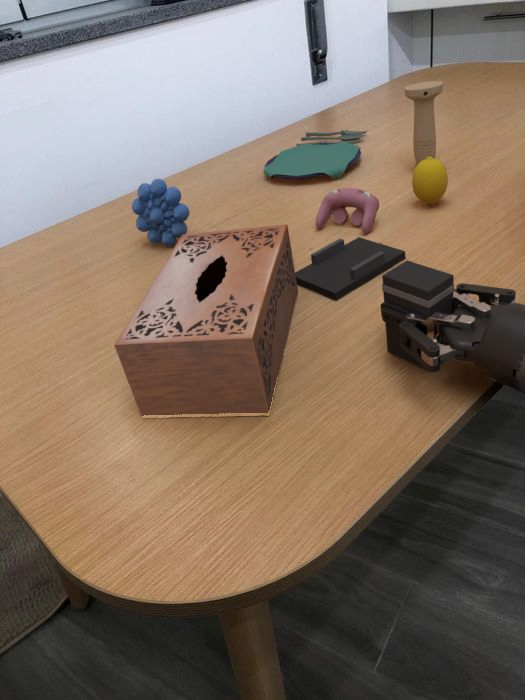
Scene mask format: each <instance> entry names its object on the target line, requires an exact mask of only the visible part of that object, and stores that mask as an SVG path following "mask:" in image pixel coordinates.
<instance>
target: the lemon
mask: <svg viewBox="0 0 525 700" xmlns="http://www.w3.org/2000/svg"><path fill="white" fill-rule="evenodd" d="M448 181H449V177H448V171H447V168H446V166H445V165H444V163H443V162H442V161H441V160H439V159H437V158H435V159H434V158H432V157H427V158H426V159H425V160H423V161H421V162H420V163H419V164H418V165H417V166H416V165H415V168H414V170H413V174H412V180H411V184H412V191H413V194H414V195H415V197H416V198H417V199H418V200H419V201H421V202H423V203H426V204H427V205H428V206H432V205H433V204H434V203H435V202H437V201H439V200H440V199H441V198H443V196H445V193H446V192H447V189H448V183H449V182H448Z"/></svg>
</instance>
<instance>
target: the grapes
mask: <svg viewBox="0 0 525 700" xmlns="http://www.w3.org/2000/svg"><path fill="white" fill-rule="evenodd" d="M181 200H182V192H181V190H180V189H179V188H177V187H175V186H170V187H168V185H167V183H166V181H165V180H163V179H162V178H154V180H152V182H151V183H150V184H149V183H147V182H145V183H144V182H143V183H141V184H140V185H139V186H138V188H137V197H135V198H134V199H133V201H132V203H131V210H132V212H133V213H134V214H135V215H136V216H137V218H136V221H135V226H136V229H137V230H138V231H139V232H141V233H147V235H146V236H147V240H148V242H150V244H152V245H158V244H160V243H162V244H163V246H165V247H169V248H170V247H173V246H175V245H176V244H177V242H178V241H177V239H180V238H181V236H182V235H183V234H188V226H187V223H186V221H188V218H189V216H190V208H189V207H188V205H187V204H185V203H180V202H181Z"/></svg>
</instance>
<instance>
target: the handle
mask: <svg viewBox="0 0 525 700" xmlns="http://www.w3.org/2000/svg"><path fill="white" fill-rule="evenodd" d="M443 90H444V82H443V81H441V80H430V81H421V82H417V83H416V82H415V83H412V84H409V85H406V86H405V87H404V96H405V97H406V98H407V99H409V100H411V101H413V108H414V109H413V136H412V137H413V139H412V140H413V141H412V145H413V154H414V160H415V167H416V166H417V165H418V164H419V163H420V162H421V161H423V160H425V159H426V158H427V157H432V158H434V159H436V152H437V133H436V132H437V131H436V119H435V98H436V97H437V96H439V95H440V94H441V93H442V92H443Z"/></svg>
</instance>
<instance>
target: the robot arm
mask: <svg viewBox="0 0 525 700" xmlns="http://www.w3.org/2000/svg"><path fill="white" fill-rule="evenodd" d="M470 295H476V296H478V300H477V299H475V298H474V297H472V296H470ZM516 295H517V292H516V290H514V289H512V288H503V287H496V286H488V285H480V284H473V283H465V282H462V283H457V284H456V288H454V291H453V299H452V304H453V314H445V313H440V312H432V313H431V314H430V315H426V314H423V313H418V312H412V310H411V309H408V308H406V307H403V306H400V305H398V304H395V303H393V302H390V301H385V302H384V301H383V302H382V303H380V316H381V319H382V321H383V322H384V324H385V323H387V324H390V325H392V326H395V327H397V328H399V329H400V338H401V340H400V345H401V347H403V348H404V349H405V350H406V351H407V352H408V353H409V354H410V355H411V356H413V357H414V358H415V359H416V360H417V361H418V362H419V363H420V364H421V365H423V366H424V367H425V368H426V369H427V370H428V371H427V370H426V371H427V372H429V371H430V372H429V373H436V372H439V371H440V369H441V364H442V363H444V362H447V361H448V360H451V359H453V360H455V361H458V362H467V363H471V364H473V365H474V366H476V368H477V369H478V370H479V371H480V373H481V374H482V375H484V377H486V378H488V379H491V380H493V381H494V382H498V383H500V384H502V385H504V386H506V387H508V388H511V389H512V390H513V389H514V390H516V391H518V392H520V393H522V394H525V304H523V303H521V302H516V297H517V296H516ZM419 324H424V325H426V326H427V331H426V330H424V329H419ZM439 324H441V336H440V335H439ZM441 362H442V363H441ZM440 363H441V364H440Z"/></svg>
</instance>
